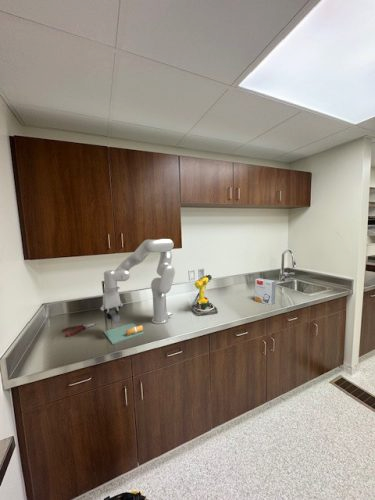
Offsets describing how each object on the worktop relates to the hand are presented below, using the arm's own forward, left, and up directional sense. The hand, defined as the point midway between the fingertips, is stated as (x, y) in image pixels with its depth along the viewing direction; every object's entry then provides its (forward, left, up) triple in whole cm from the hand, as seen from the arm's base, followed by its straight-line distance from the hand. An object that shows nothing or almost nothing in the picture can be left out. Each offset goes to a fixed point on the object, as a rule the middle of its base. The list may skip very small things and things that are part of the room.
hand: (112, 317), depth 136 cm
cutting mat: (-5, +4, -11) cm, 13 cm away
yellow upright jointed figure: (-70, +9, -11) cm, 72 cm away
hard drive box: (-122, +29, -11) cm, 126 cm away
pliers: (+17, -20, -12) cm, 29 cm away
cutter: (0, +2, -1) cm, 2 cm away
